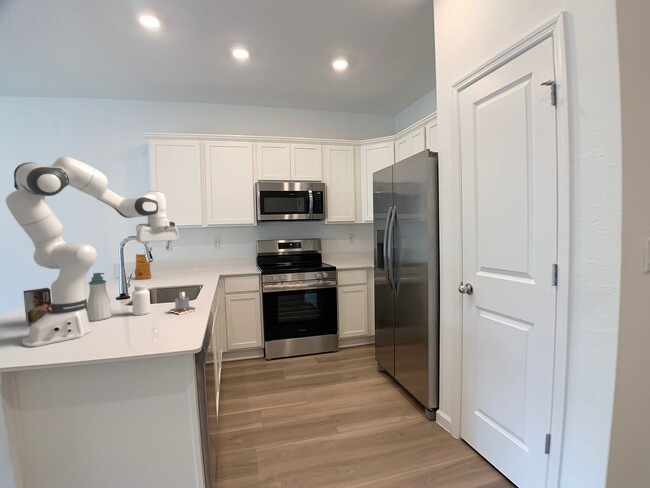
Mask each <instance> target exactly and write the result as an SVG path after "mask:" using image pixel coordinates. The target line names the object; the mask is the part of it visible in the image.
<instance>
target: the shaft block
mask: <svg viewBox="0 0 650 488" xmlns="http://www.w3.org/2000/svg"><path fill="white" fill-rule="evenodd" d="M178 297H180V299H184V298H185V297H186V291H179V296H178ZM194 309H196V307H193V306H189V307H188V308H184V309H177V308H175V307H174V308H171V309H170V310H169V312H170V311H174V312H178V313H181V312H185V311H189V310H194Z"/></svg>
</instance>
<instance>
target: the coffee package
mask: <svg viewBox="0 0 650 488" xmlns="http://www.w3.org/2000/svg"><path fill="white" fill-rule="evenodd" d="M145 254H146V253H145ZM145 254H139V253H136V254H135V269H134V276H135V279H134V280H137V281H138V280H150V279H151V278H152V272H151V262H150V263H148V262H147V260H146V257H145Z"/></svg>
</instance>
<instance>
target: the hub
mask: <svg viewBox="0 0 650 488" xmlns="http://www.w3.org/2000/svg"><path fill="white" fill-rule="evenodd" d="M174 302H175V303H174V305H175V306H174V308H177V309H184V308H188V307H190V297H189V296H185V298H184V299H180V297H179V296H178V297H175V299H174Z"/></svg>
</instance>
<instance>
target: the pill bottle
mask: <svg viewBox="0 0 650 488" xmlns="http://www.w3.org/2000/svg"><path fill="white" fill-rule="evenodd" d="M133 288H134V290H133V292H132V294H131V297H132V298H131V299H132V314H133V315H134V316H145V315H148V314H150V313H151V296H150V295H151V294H150V290H148V289H147V284H136V285H134V286H133ZM149 312H150V313H149ZM147 313H148V314H147ZM144 314H145V315H144Z"/></svg>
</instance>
